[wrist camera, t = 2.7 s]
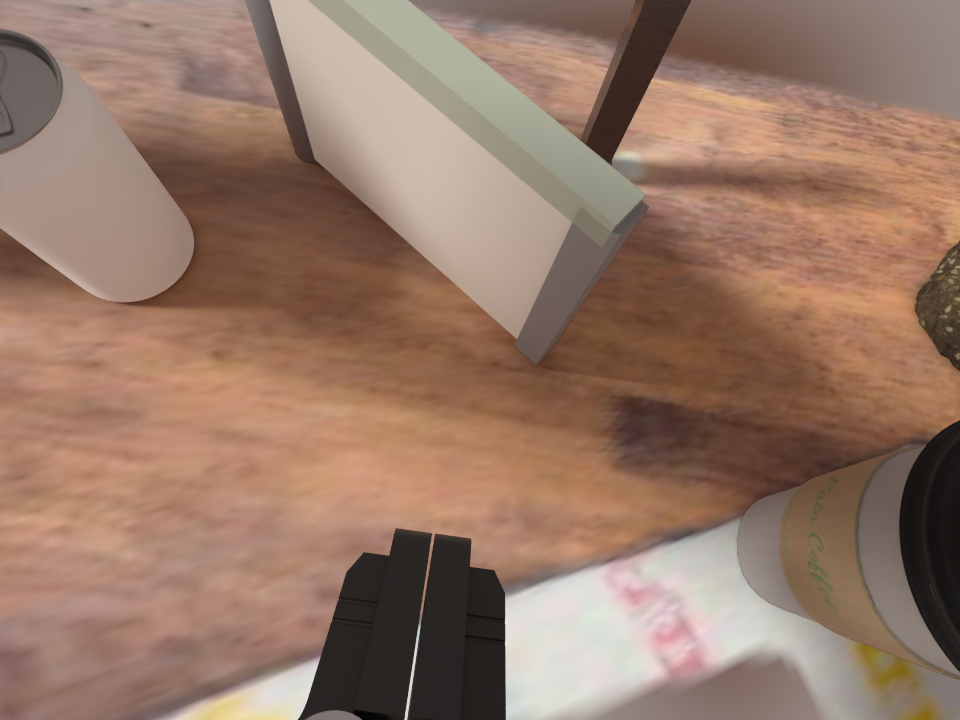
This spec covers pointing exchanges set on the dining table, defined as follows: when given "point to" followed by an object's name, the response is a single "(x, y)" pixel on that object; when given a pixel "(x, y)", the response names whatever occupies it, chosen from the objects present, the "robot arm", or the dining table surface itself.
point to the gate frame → (631, 72)
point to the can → (81, 183)
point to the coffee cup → (869, 552)
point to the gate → (449, 157)
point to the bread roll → (943, 306)
